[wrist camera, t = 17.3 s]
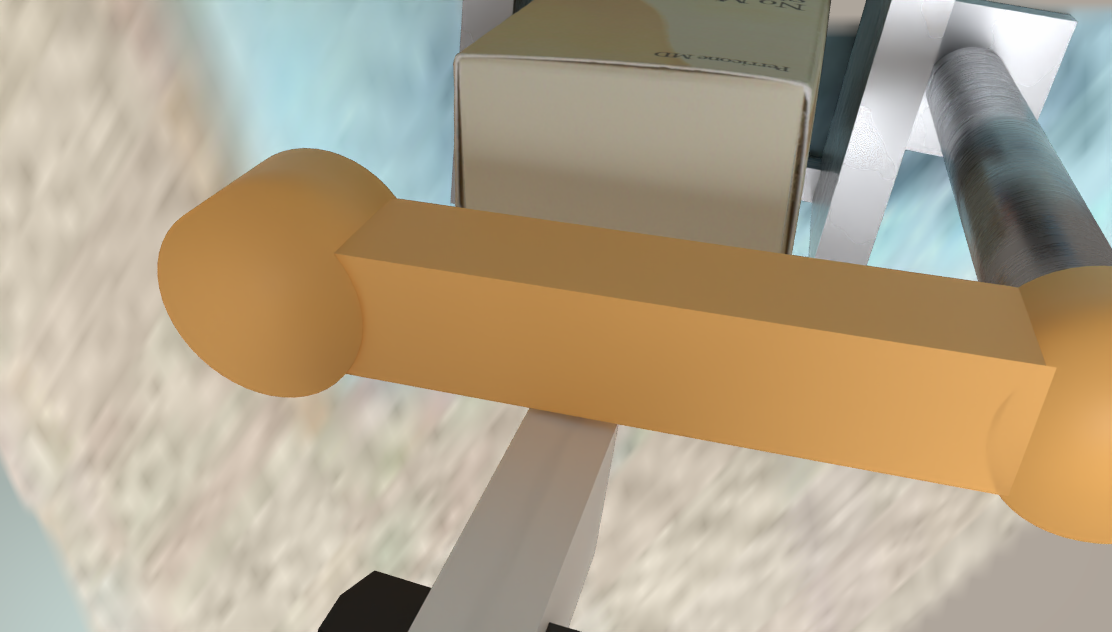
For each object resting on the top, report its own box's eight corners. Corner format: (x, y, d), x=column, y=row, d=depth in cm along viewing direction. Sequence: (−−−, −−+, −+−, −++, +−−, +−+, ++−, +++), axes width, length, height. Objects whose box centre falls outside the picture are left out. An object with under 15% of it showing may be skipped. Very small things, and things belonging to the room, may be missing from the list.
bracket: (544, -156, 25) (279, -90, 13) (1103, -69, 23) (1402, 107, 11) (516, 128, 29) (297, 374, 17) (986, 225, 27) (1106, 584, 15)
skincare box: (838, -51, 24) (841, 79, 14) (813, 111, 27) (799, 324, 16) (598, -62, 26) (442, 47, 15) (593, 92, 28) (454, 278, 18)
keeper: (1249, 273, 12) (1323, 365, 10) (1156, 467, 14) (1207, 576, 12) (224, 136, 15) (138, 188, 13) (251, 309, 16) (178, 377, 15)
